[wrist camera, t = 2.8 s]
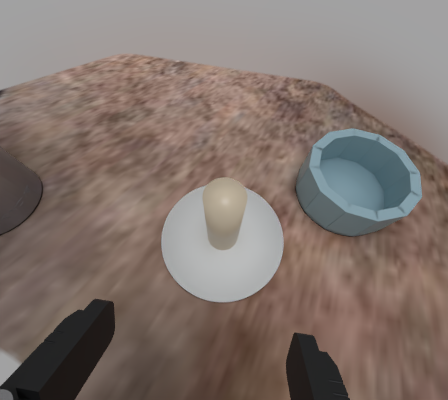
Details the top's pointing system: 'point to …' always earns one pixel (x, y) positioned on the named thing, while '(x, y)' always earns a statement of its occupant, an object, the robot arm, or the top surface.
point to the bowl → (357, 183)
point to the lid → (222, 241)
